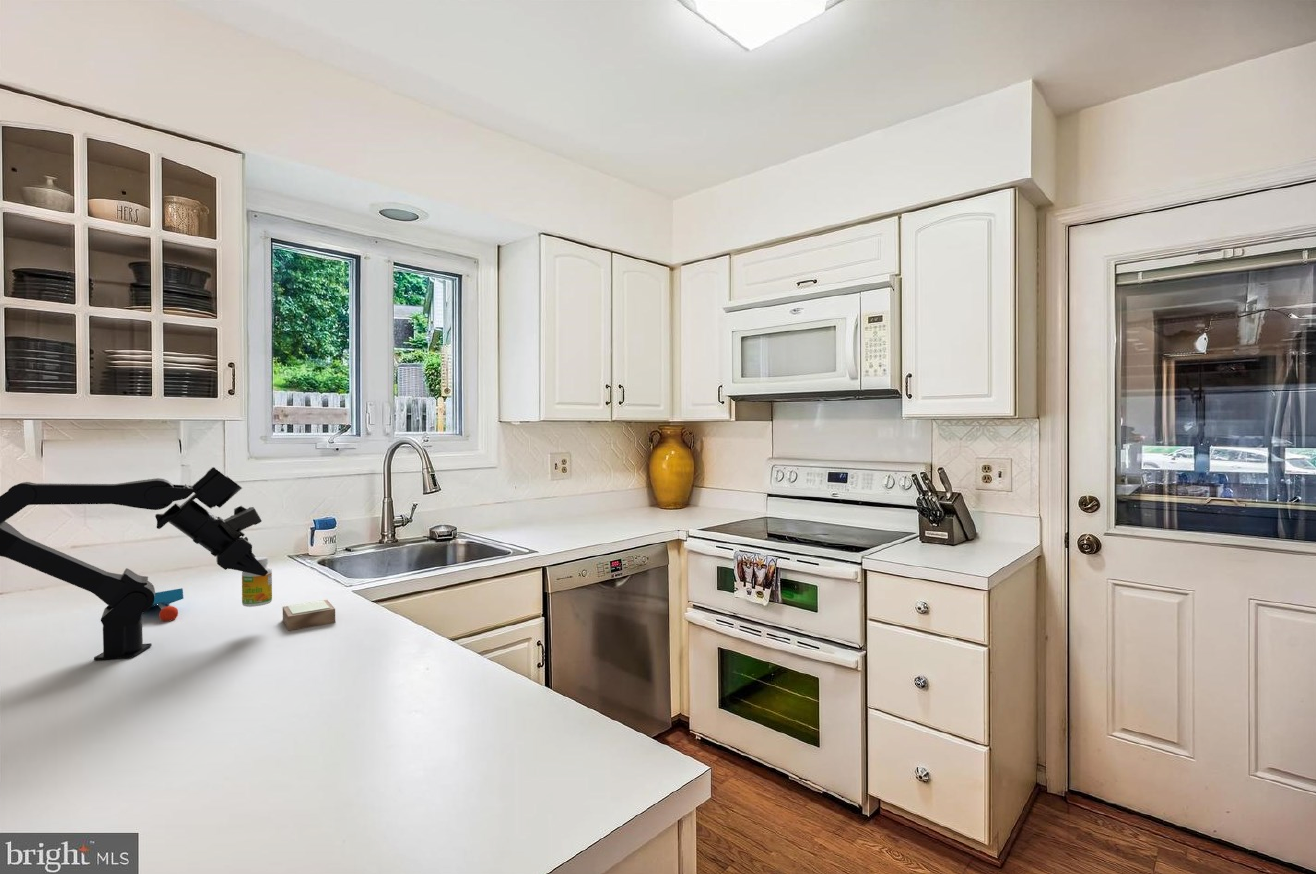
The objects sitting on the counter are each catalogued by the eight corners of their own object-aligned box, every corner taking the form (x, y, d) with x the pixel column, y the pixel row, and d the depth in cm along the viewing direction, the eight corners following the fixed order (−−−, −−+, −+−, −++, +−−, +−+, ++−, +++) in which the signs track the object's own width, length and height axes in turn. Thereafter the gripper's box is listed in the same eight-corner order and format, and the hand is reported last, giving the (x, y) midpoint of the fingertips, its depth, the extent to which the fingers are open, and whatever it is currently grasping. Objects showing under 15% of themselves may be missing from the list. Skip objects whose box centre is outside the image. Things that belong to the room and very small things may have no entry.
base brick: (288, 630, 133) (288, 615, 133) (282, 620, 140) (282, 605, 140) (335, 622, 139) (335, 607, 139) (327, 612, 146) (327, 598, 146)
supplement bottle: (238, 608, 130) (237, 561, 130) (247, 601, 135) (247, 556, 135) (267, 606, 131) (266, 560, 131) (275, 599, 137) (275, 555, 136)
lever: (133, 630, 148) (151, 624, 137) (130, 600, 149) (149, 592, 138) (169, 623, 153) (190, 617, 142) (166, 594, 154) (187, 586, 143)
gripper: (237, 499, 123) (301, 549, 130) (230, 491, 138) (288, 536, 145) (188, 544, 118) (257, 592, 125) (186, 530, 133) (248, 575, 140)
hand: (264, 571), depth 134 cm, fingers closed on supplement bottle, 5 cm apart
